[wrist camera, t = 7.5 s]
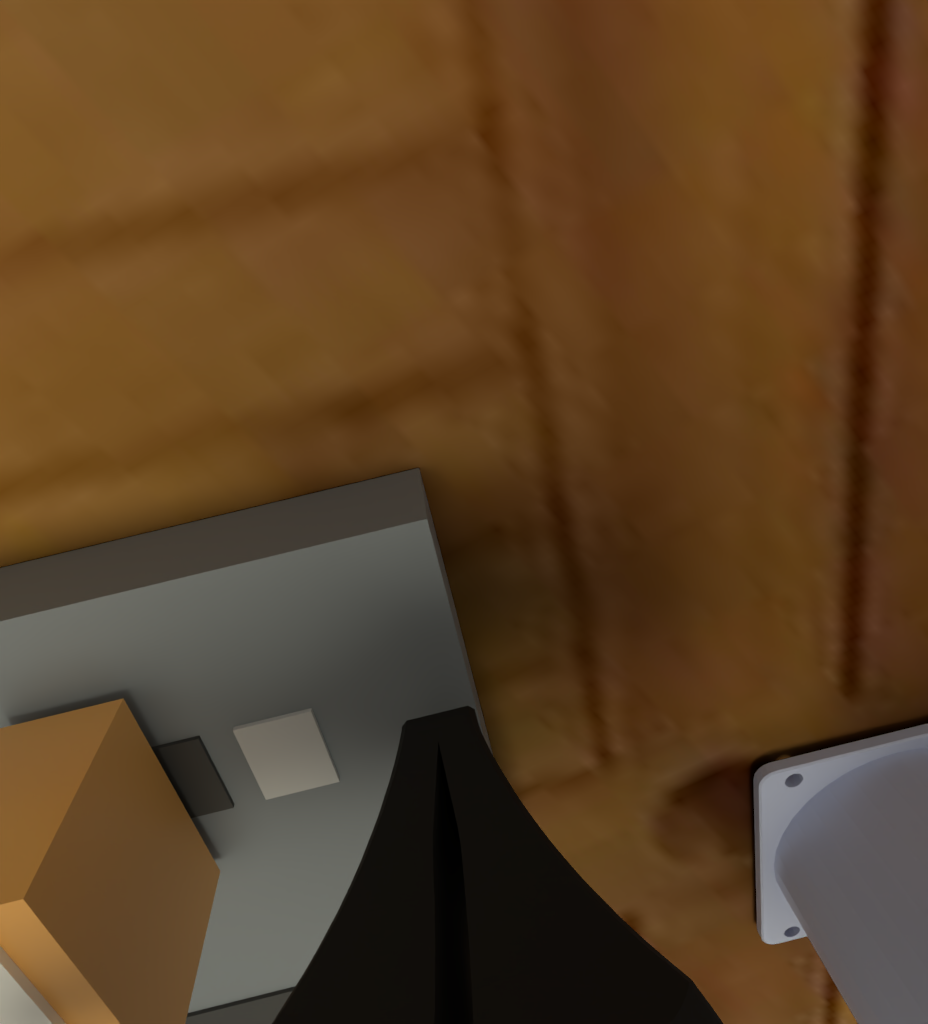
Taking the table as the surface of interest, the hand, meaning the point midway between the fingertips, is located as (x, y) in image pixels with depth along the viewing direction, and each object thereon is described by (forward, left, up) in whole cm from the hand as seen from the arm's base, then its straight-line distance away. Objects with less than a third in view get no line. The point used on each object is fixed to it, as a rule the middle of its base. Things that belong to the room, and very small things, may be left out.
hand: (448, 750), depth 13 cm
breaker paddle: (+7, 0, -1) cm, 7 cm away
